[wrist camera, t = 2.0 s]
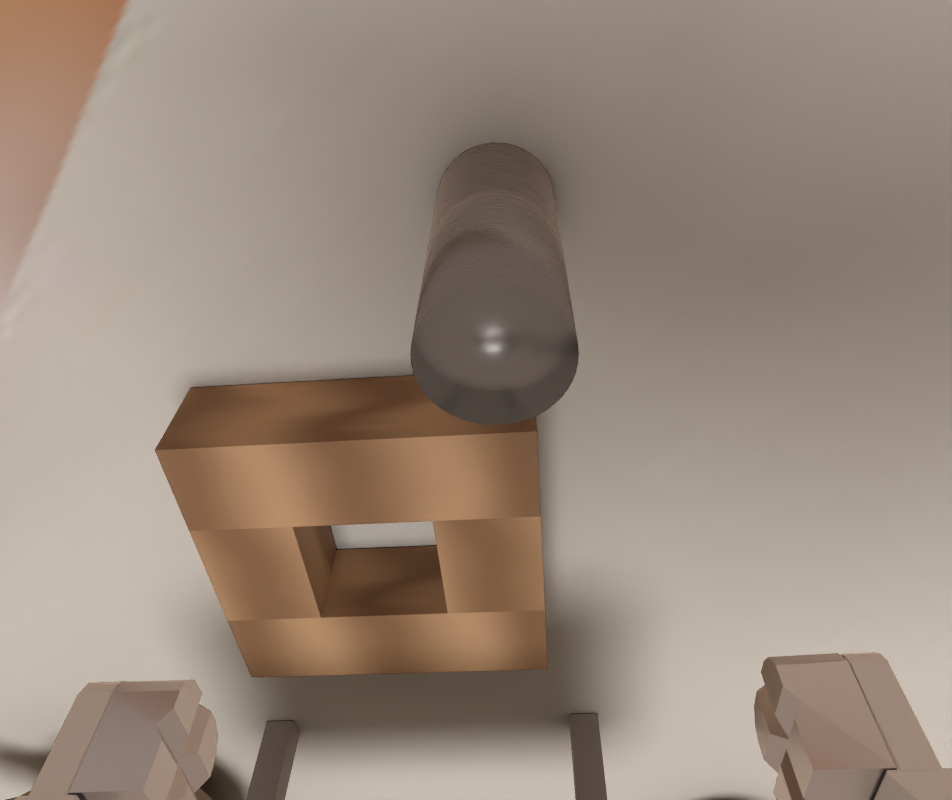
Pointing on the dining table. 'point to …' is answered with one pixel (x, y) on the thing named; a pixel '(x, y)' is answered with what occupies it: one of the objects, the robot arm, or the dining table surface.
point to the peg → (495, 292)
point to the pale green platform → (283, 737)
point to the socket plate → (361, 502)
